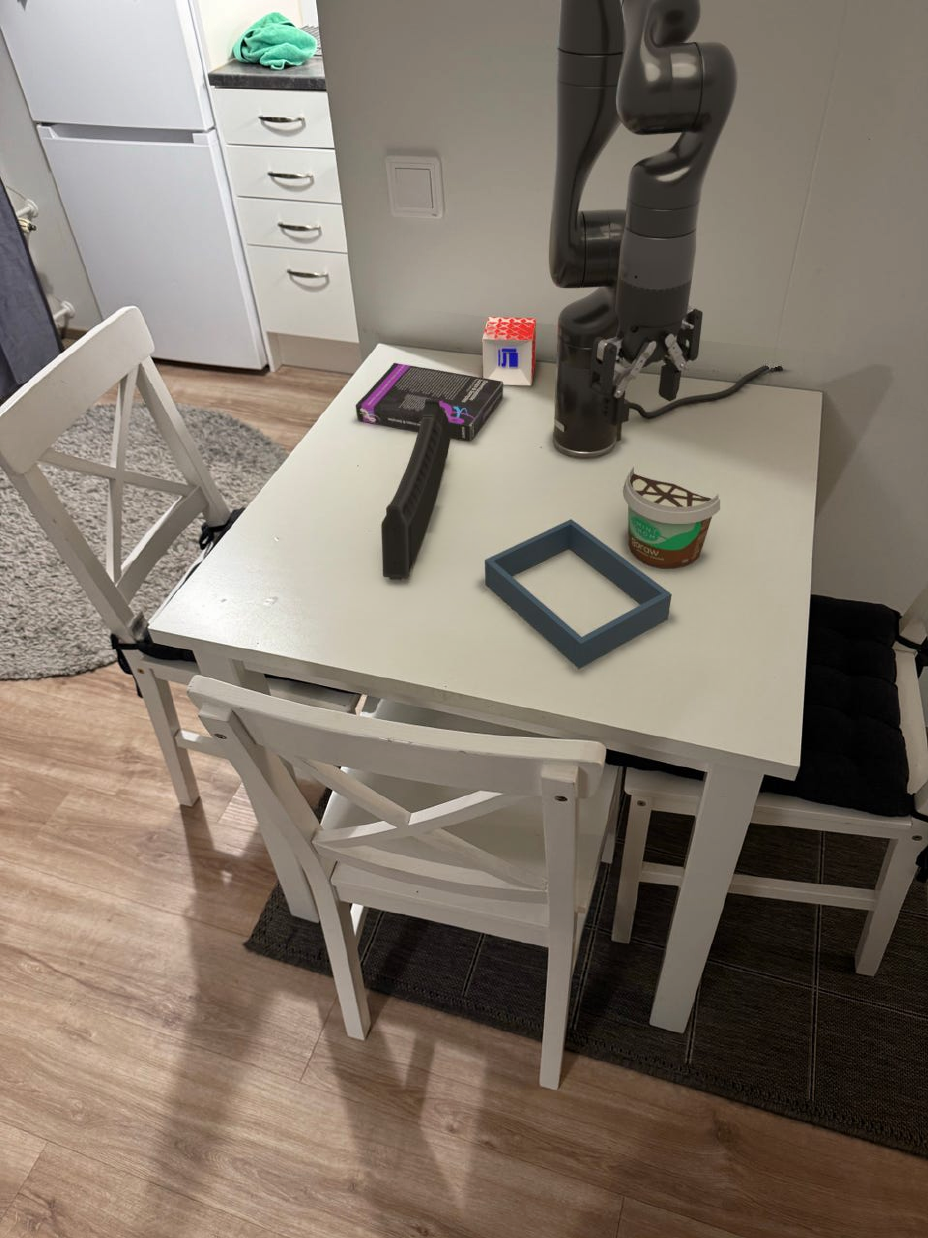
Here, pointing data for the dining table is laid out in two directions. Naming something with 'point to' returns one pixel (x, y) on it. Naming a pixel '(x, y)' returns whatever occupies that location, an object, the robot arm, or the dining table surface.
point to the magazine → (415, 494)
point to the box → (410, 386)
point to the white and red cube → (509, 350)
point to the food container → (666, 521)
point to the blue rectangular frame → (598, 557)
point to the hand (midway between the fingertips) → (639, 409)
